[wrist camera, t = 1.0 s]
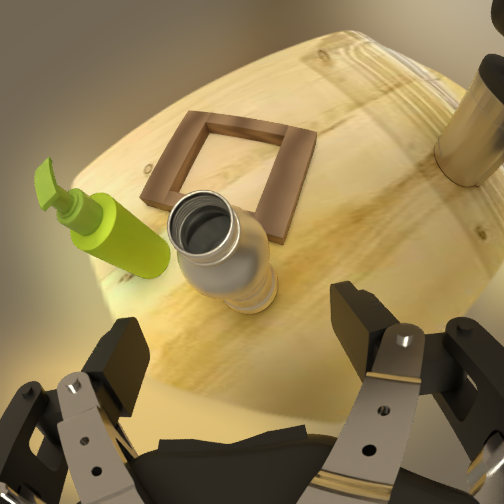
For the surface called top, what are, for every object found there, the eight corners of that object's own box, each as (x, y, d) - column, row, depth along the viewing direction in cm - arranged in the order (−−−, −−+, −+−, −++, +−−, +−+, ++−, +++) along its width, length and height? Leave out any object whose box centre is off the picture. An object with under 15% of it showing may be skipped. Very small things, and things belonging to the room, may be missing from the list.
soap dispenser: (153, 222, 37) (61, 137, 18) (178, 260, 35) (77, 186, 16) (122, 248, 37) (18, 183, 18) (144, 287, 35) (27, 239, 16)
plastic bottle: (235, 323, 32) (159, 308, 13) (216, 270, 34) (133, 195, 15) (287, 303, 32) (285, 259, 13) (266, 250, 34) (236, 149, 15)
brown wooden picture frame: (316, 143, 38) (317, 132, 35) (283, 244, 34) (282, 238, 32) (193, 120, 42) (188, 110, 39) (147, 205, 38) (139, 197, 36)
